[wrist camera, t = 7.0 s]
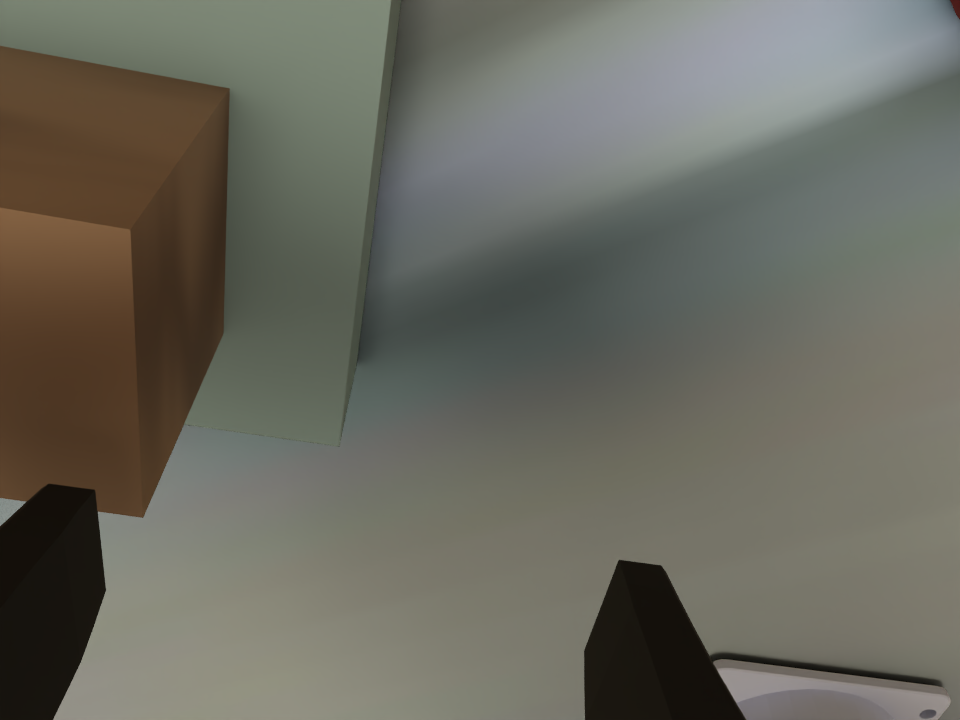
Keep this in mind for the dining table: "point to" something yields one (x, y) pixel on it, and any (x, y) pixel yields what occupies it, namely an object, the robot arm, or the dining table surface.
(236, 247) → the sage green base
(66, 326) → the walnut block
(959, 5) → the soda can
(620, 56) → the dining table surface
